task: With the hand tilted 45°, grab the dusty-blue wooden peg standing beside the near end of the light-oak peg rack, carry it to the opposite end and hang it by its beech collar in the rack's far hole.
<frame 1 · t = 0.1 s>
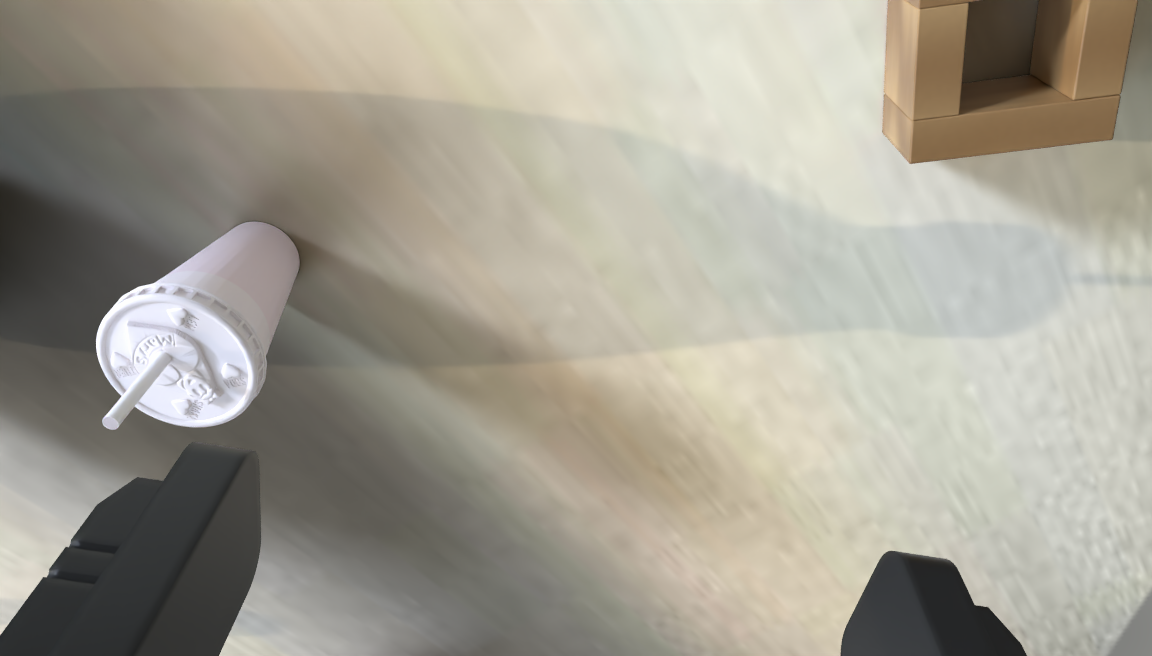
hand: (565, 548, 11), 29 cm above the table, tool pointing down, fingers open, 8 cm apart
smoothie: (263, 254, 42), on the table
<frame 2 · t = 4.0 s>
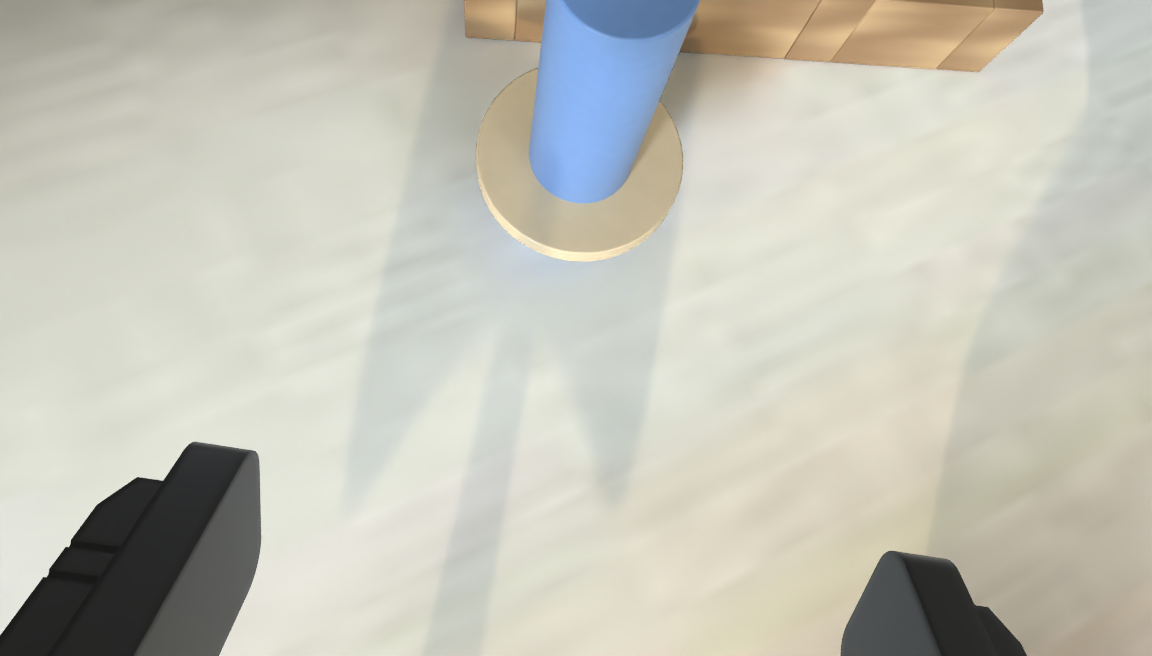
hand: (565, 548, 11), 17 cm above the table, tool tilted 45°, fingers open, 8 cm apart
peg: (568, 203, 30), on the table
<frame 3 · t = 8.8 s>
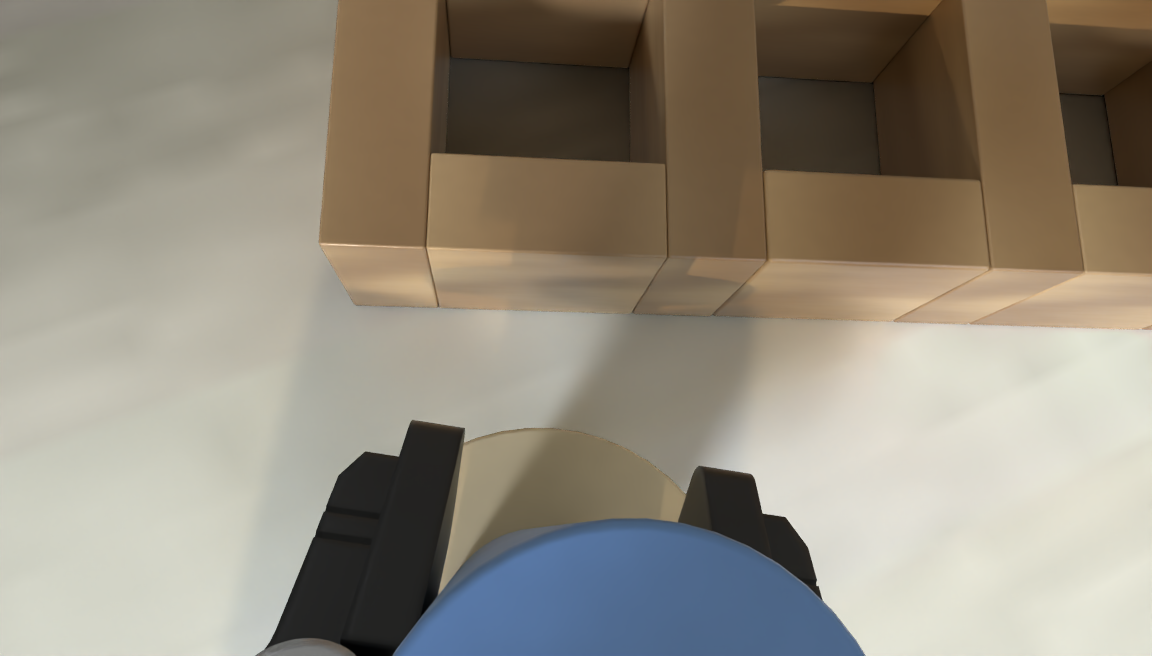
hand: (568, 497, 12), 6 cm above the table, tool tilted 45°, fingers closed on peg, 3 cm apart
rack: (793, 159, 20), on the table
peg: (527, 610, 17), on the table, touching gripper
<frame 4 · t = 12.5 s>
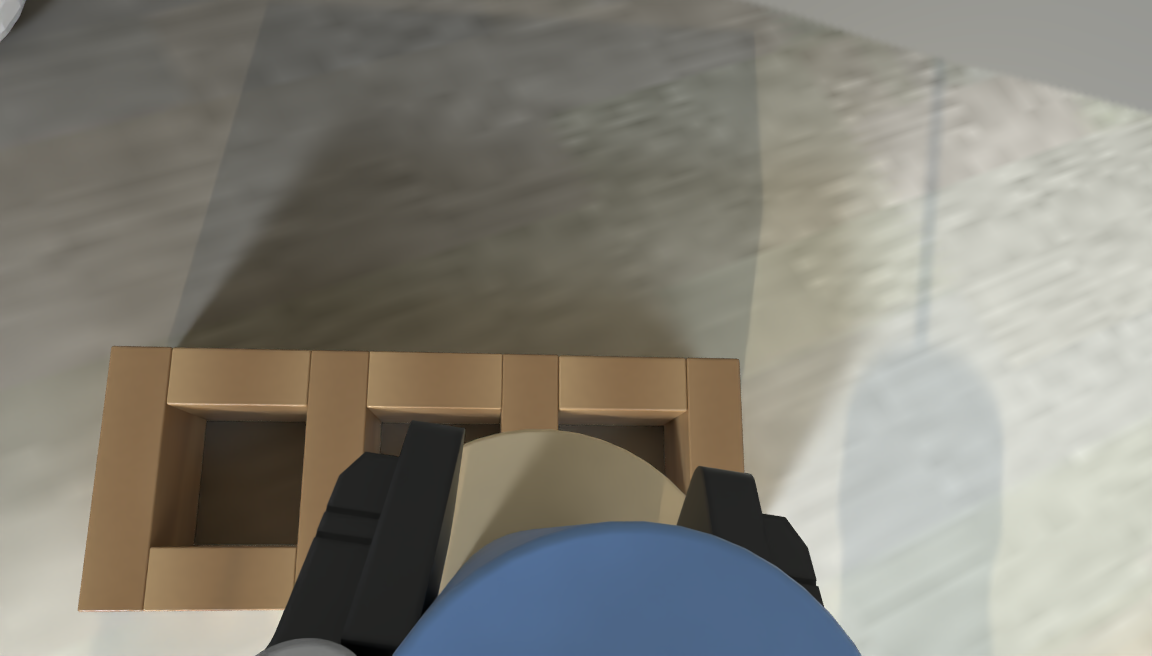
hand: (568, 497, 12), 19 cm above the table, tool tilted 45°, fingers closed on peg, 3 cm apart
rack: (439, 483, 30), on the table
peg: (527, 611, 17), point 13 cm above the table, touching gripper
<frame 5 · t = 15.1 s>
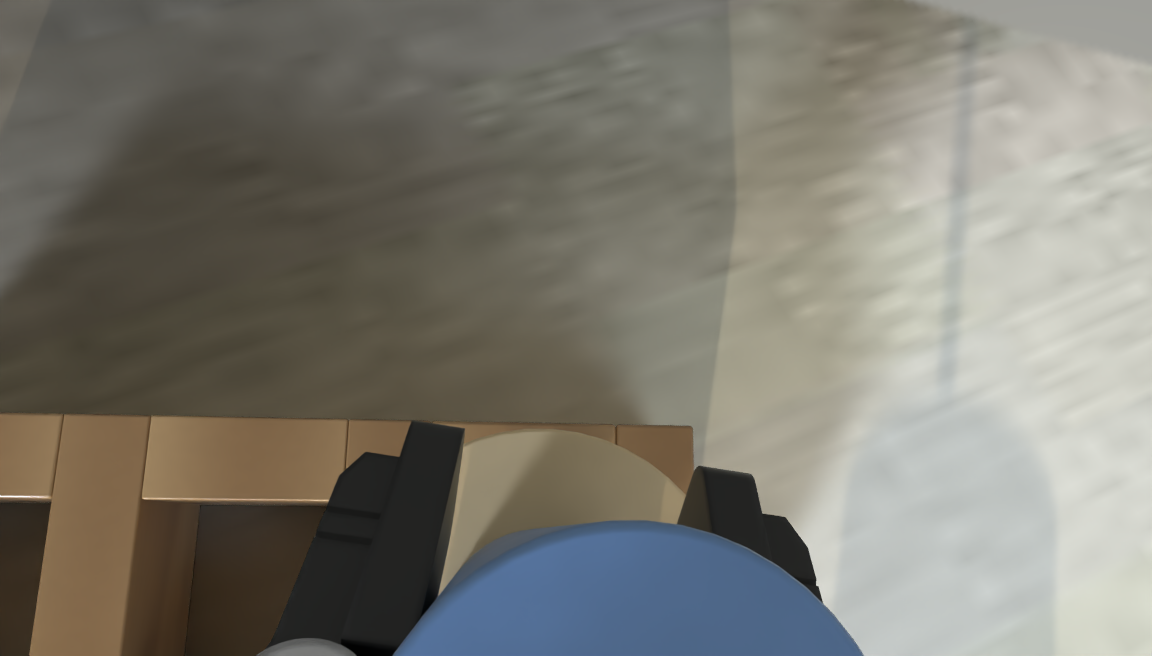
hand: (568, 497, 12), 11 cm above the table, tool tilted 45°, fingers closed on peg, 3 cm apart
rack: (277, 590, 22), on the table
peg: (527, 611, 17), point 5 cm above the table, touching gripper
when the fingers open (7 cm above the table, at t = 16.7 s): peg stays where it is, resting on rack.
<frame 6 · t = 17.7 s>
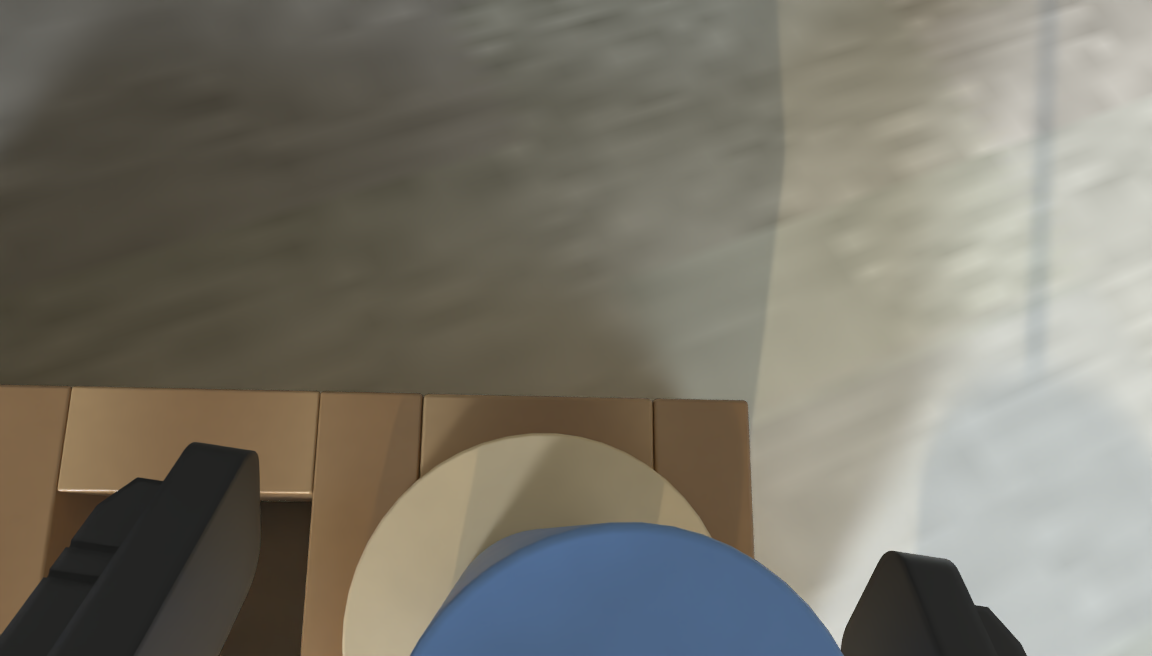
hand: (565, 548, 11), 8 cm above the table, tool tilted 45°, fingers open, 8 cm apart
rack: (239, 603, 18), on the table
peg: (531, 608, 18), point 1 cm above the table, touching rack
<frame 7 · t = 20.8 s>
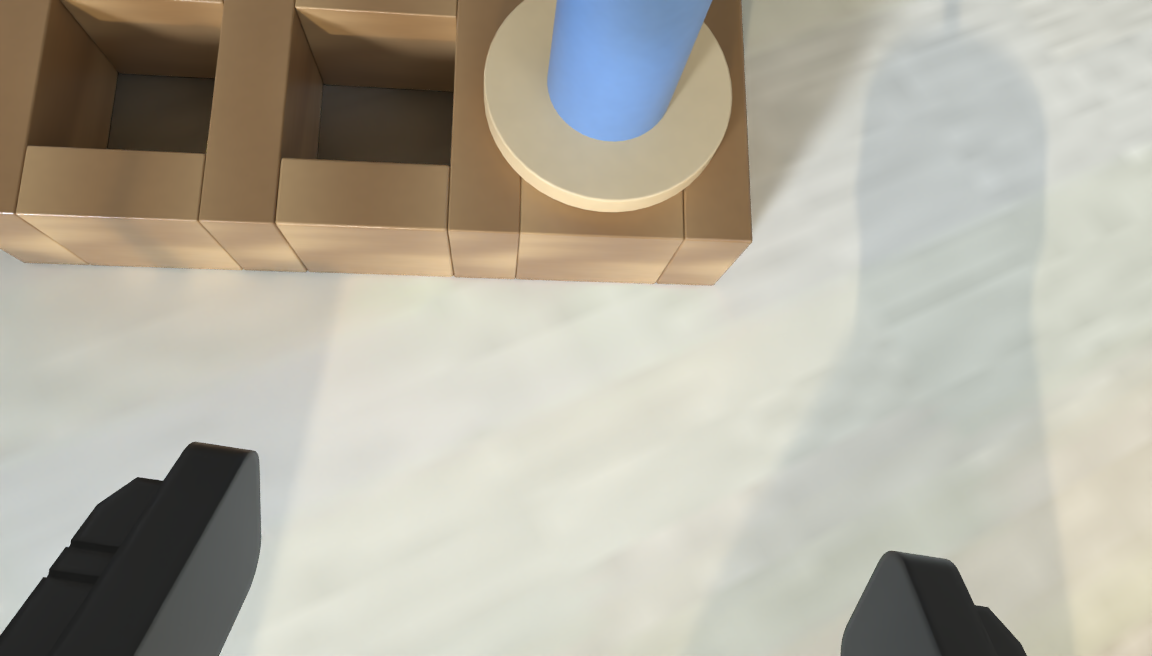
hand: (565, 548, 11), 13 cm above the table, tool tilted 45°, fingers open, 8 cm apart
rack: (389, 151, 26), on the table
peg: (591, 153, 26), point 1 cm above the table, touching rack
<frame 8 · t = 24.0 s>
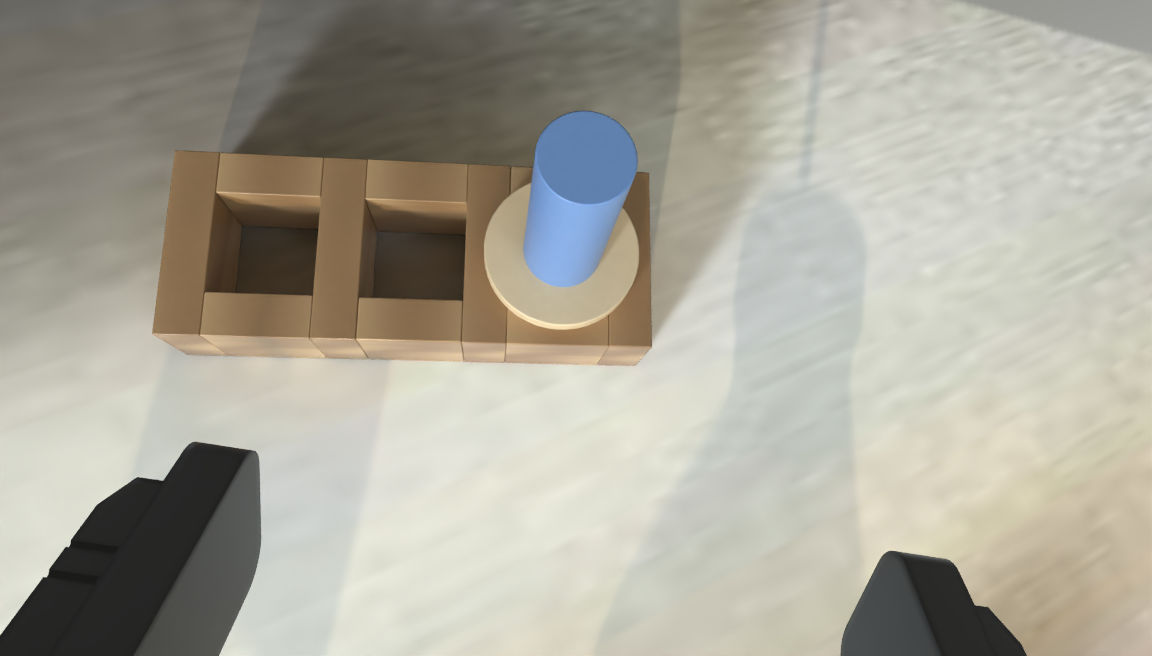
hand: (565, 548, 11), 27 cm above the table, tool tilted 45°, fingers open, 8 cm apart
rack: (421, 277, 39), on the table
peg: (554, 278, 39), point 1 cm above the table, touching rack
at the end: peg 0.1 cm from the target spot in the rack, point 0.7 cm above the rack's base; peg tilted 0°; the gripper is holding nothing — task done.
